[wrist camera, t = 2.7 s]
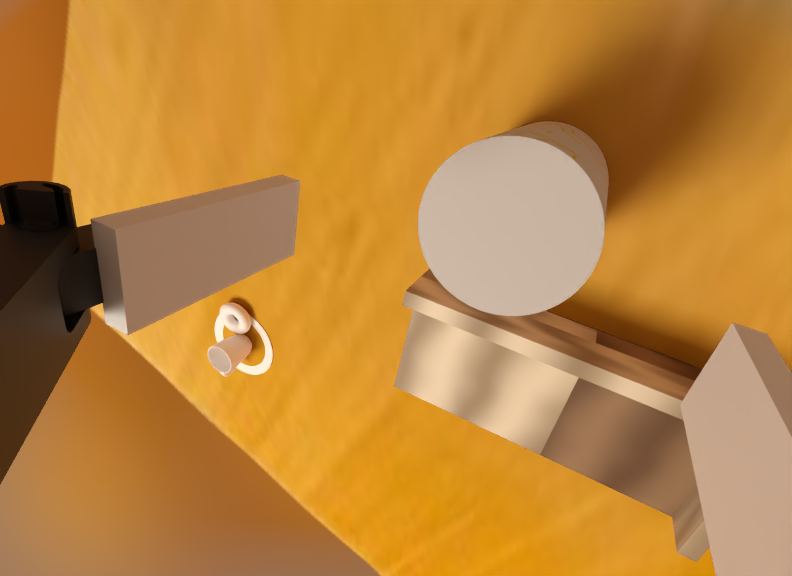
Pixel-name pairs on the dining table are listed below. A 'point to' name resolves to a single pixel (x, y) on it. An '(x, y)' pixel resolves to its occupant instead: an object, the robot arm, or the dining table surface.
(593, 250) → the beige cylinder
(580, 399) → the rail board
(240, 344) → the white looped ring
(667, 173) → the dining table surface
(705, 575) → the dining table surface
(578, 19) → the dining table surface
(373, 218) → the dining table surface
